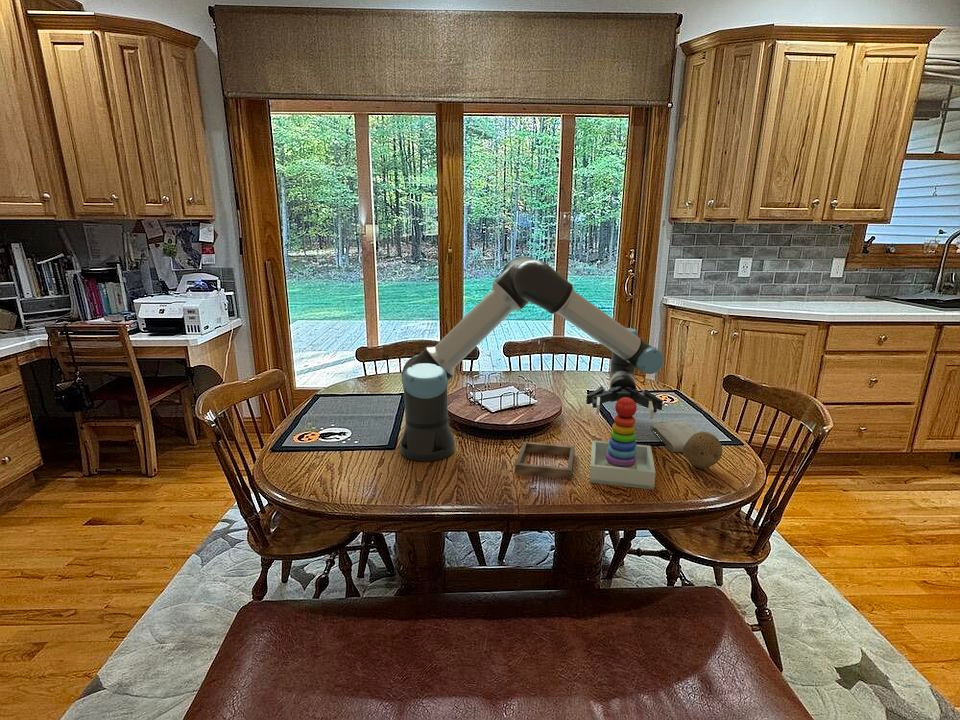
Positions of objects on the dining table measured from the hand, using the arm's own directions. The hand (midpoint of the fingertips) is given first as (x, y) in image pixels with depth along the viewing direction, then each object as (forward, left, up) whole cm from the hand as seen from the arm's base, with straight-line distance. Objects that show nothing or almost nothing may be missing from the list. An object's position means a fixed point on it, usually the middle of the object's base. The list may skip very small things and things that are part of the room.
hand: (624, 412), depth 134 cm
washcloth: (+17, +17, -14) cm, 27 cm away
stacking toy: (0, -8, -12) cm, 15 cm away
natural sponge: (+20, -2, -13) cm, 24 cm away
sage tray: (0, -8, -13) cm, 15 cm away
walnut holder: (-19, -8, -13) cm, 25 cm away
